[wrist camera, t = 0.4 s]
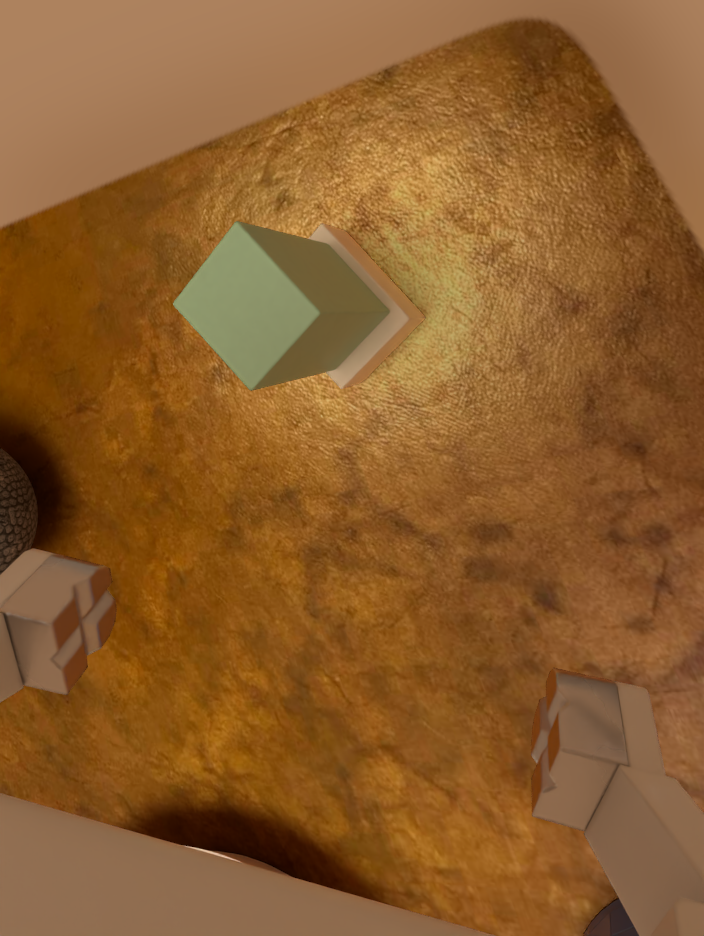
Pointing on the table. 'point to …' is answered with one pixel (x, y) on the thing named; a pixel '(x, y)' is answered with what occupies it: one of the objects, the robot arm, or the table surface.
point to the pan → (612, 922)
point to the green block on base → (296, 306)
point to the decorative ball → (15, 511)
